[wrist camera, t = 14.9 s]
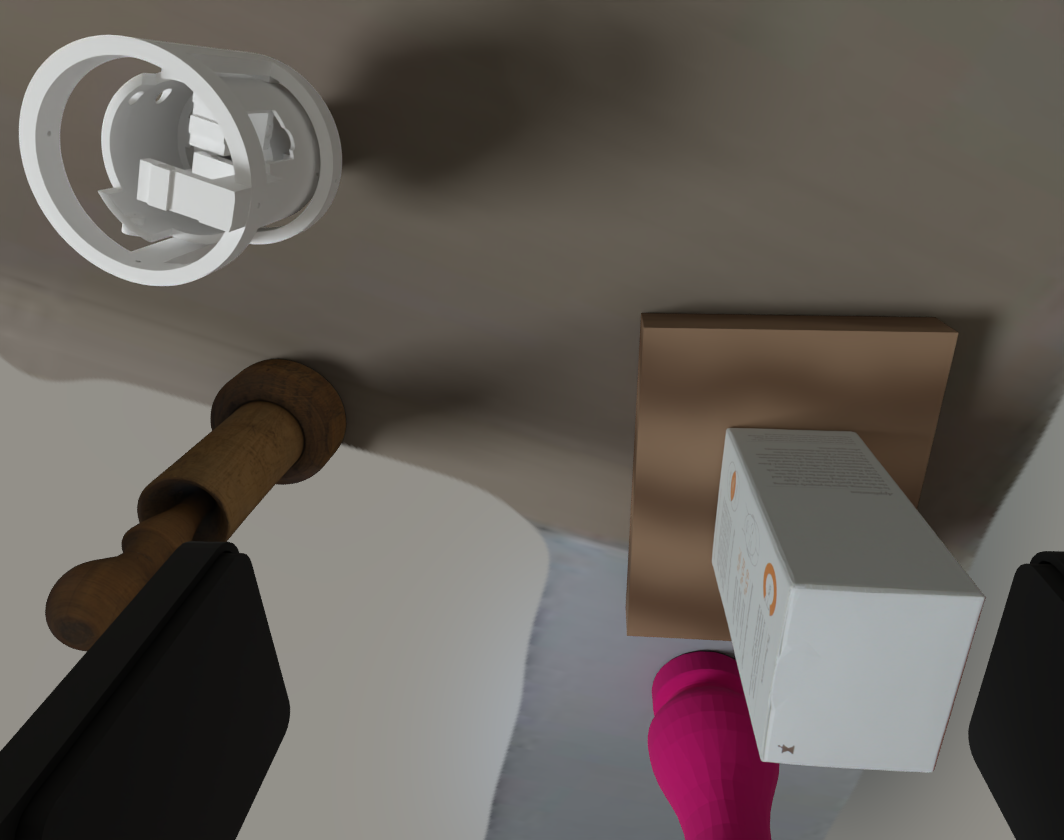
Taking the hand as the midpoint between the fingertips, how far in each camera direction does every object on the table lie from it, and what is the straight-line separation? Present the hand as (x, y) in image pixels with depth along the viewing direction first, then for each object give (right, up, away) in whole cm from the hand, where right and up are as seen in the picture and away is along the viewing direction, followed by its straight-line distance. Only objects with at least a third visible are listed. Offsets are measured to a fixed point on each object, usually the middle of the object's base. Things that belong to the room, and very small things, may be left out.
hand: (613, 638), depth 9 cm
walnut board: (+11, 0, +30) cm, 32 cm away
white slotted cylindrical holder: (-12, +16, +25) cm, 32 cm away
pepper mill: (+10, -14, +36) cm, 40 cm away
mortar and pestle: (-14, +3, +31) cm, 35 cm away
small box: (+12, -1, +28) cm, 30 cm away
